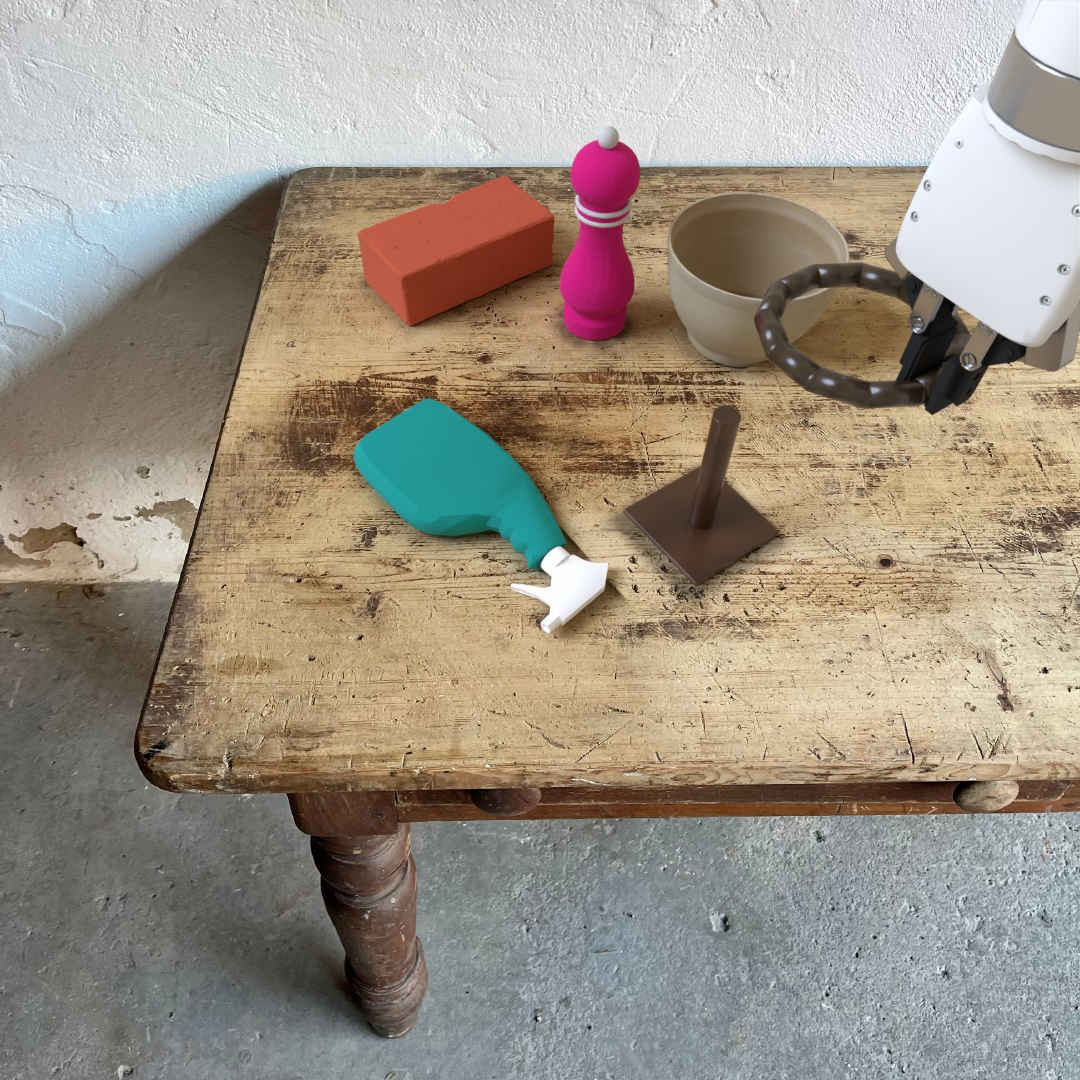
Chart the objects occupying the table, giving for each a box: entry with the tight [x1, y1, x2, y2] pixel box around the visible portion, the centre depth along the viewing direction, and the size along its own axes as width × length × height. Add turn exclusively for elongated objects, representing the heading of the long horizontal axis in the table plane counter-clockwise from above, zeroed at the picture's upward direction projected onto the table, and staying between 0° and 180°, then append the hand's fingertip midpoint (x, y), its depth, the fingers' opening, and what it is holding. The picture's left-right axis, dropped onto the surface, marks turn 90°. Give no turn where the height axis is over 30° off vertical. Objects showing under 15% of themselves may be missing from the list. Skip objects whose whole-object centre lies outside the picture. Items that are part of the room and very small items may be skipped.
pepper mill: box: [559, 125, 641, 341], centre depth 82 cm, size 7×7×20 cm
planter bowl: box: [667, 191, 850, 368], centre depth 84 cm, size 16×16×11 cm
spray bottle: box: [353, 398, 609, 634], centre depth 73 cm, size 3×11×24 cm
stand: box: [622, 405, 780, 587], centre depth 68 cm, size 9×9×13 cm
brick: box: [356, 175, 556, 327], centre depth 91 cm, size 18×9×6 cm, turn 126°
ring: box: [754, 261, 972, 410], centre depth 57 cm, size 13×13×2 cm
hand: (928, 390), depth 54 cm, fingers closed on ring, 1 cm apart
